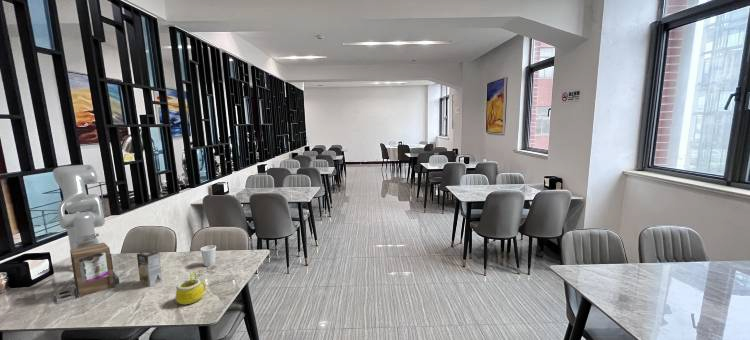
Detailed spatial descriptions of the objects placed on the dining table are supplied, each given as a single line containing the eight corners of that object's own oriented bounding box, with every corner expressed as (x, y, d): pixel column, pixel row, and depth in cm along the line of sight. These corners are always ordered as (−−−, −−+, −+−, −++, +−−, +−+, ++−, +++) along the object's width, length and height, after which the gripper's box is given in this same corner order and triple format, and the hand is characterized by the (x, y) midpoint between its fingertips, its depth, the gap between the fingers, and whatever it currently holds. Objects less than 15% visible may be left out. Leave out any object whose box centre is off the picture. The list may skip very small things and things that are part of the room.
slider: (72, 283, 167) (69, 261, 166) (112, 273, 179) (109, 252, 178) (78, 295, 154) (74, 271, 153) (120, 282, 166) (117, 260, 165)
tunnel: (75, 289, 162) (69, 249, 159) (109, 280, 172) (104, 242, 169) (79, 297, 153) (73, 255, 151) (114, 287, 163) (109, 247, 161)
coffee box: (139, 283, 166) (135, 253, 164) (152, 278, 172) (149, 249, 170) (150, 286, 162) (146, 256, 160) (163, 281, 168) (159, 251, 166)
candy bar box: (103, 282, 169) (99, 251, 167) (111, 282, 168) (107, 252, 166) (80, 292, 158) (75, 260, 156) (88, 293, 157) (83, 261, 155)
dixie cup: (220, 263, 190) (219, 246, 188) (206, 268, 183) (205, 251, 181) (212, 260, 194) (211, 244, 193) (198, 265, 187) (197, 248, 186)
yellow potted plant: (184, 308, 140) (182, 282, 139) (171, 302, 146) (169, 277, 145) (212, 295, 151) (210, 271, 149) (199, 290, 157) (197, 266, 155)
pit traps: (55, 295, 156) (54, 293, 156) (72, 290, 160) (71, 288, 160) (57, 303, 148) (57, 301, 148) (75, 298, 152) (75, 295, 152)
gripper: (102, 233, 177) (107, 265, 179) (65, 240, 165) (70, 274, 168) (105, 235, 172) (110, 268, 174) (67, 243, 160) (72, 278, 163)
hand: (90, 271), depth 171 cm, fingers closed
